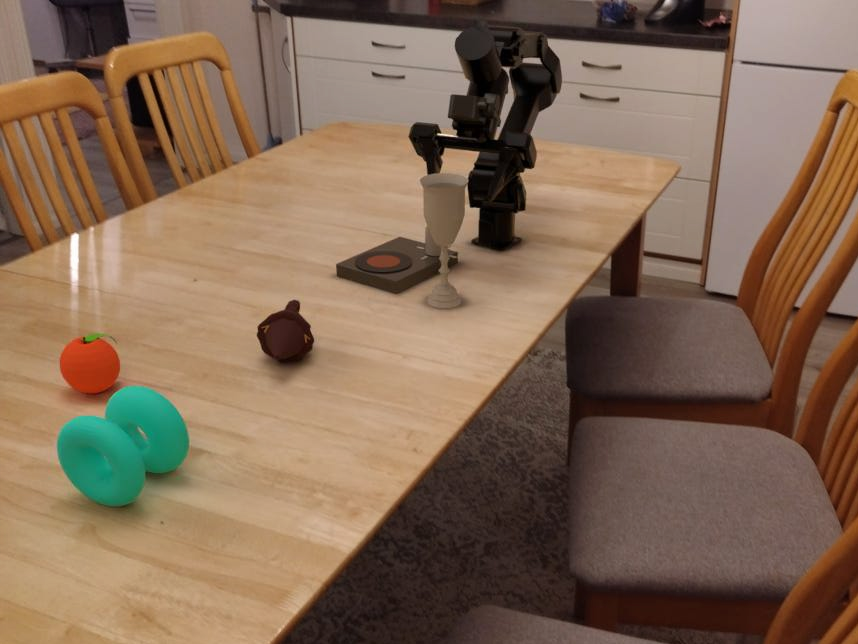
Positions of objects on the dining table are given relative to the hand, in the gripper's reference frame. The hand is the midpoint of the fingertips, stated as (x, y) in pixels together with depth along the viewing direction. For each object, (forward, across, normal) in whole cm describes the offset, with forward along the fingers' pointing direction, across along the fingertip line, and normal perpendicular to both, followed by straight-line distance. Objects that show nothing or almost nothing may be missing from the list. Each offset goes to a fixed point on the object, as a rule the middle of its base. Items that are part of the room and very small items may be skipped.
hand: (459, 196), depth 148 cm
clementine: (+44, -31, -25) cm, 59 cm away
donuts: (+56, -14, -37) cm, 69 cm away
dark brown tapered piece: (+33, -12, -14) cm, 38 cm away
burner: (+9, -12, +8) cm, 17 cm away
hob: (+8, -11, +11) cm, 18 cm away
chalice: (+15, 0, +4) cm, 16 cm away
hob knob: (+4, -6, +13) cm, 14 cm away
